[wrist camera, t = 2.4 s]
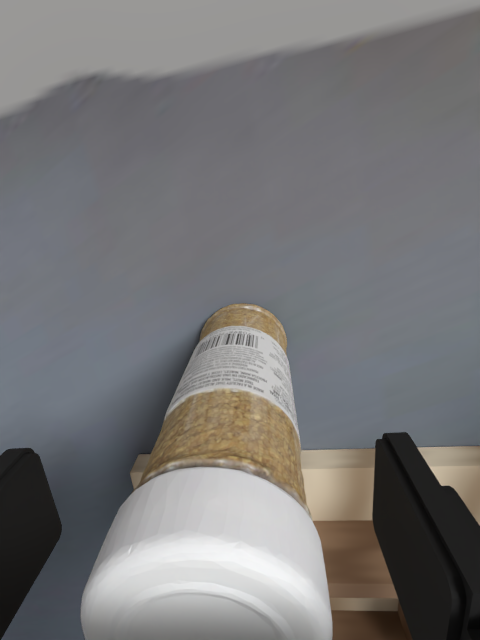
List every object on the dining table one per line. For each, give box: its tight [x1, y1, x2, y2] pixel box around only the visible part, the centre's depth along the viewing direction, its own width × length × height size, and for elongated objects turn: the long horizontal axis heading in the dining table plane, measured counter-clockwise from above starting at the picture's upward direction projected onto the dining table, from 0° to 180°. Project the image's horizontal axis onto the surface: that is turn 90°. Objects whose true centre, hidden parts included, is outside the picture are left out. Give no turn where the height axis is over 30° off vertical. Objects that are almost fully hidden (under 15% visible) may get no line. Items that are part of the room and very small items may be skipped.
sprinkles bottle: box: [81, 303, 333, 640], centre depth 12 cm, size 5×5×13 cm
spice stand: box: [130, 446, 480, 640], centre depth 21 cm, size 24×16×5 cm, turn 95°
